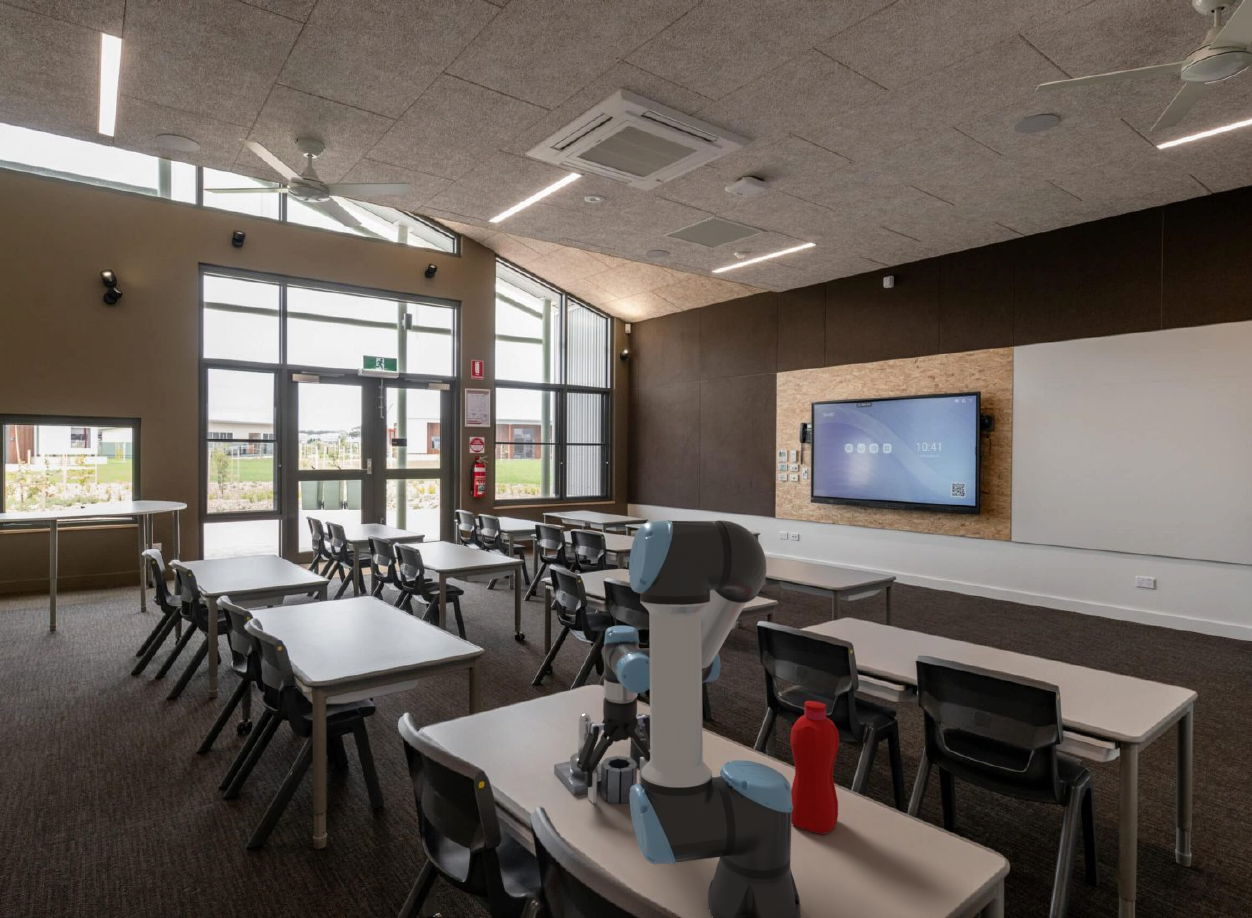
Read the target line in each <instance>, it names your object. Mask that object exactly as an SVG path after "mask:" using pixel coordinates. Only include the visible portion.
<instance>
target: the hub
mask: <svg viewBox="0 0 1252 918" xmlns="http://www.w3.org/2000/svg"><path fill="white" fill-rule="evenodd" d="M600 764H601V790H600V798H602V799H603V800H604V802H607V803H610V804H616V805H624V804H628V803H630V798H629V795H630V788H631V787H632V786H633V785H635V784H636V783H637V782H638V766H637V763H636V762H635V761H634V760H633V759H632V758H630V756H629V757H628V756H621V755H619V756H618V755H615V756H610V757H606V758H604V760H603V761H602V762H600Z"/></svg>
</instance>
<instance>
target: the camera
mask: <svg viewBox="0 0 1252 918" xmlns="http://www.w3.org/2000/svg"><path fill="white" fill-rule="evenodd" d="M640 714H641V713H638V714H637V715H636V717H638V716H640ZM643 714H644V715H646V716H647V717H649V725H650V714H645V713H643ZM634 732H635V733H636V734H637V736H638V737H639V739H640V740H641V741H642V743H643V744H644V745H645V747H646V748H647V749H648V750H650V749H649V747H648V744H647V742H646V739H645V737H644V734H643V732H642V729H641V726H640V725H639V724H637V726H636V727H635V729H634ZM629 750H630V751H629V752H630V753H629V755H630V756H629V758H632V759H633V760H634V761H635V762H636V763H637V767H639V768H640V757H644V756H643V754H642V753H641V752H640V750H639V749H638V748H637V746H636V745H635V744H634V743H633V741H632V740H631V739H630V748H629Z"/></svg>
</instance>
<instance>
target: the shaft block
mask: <svg viewBox="0 0 1252 918" xmlns="http://www.w3.org/2000/svg"><path fill="white" fill-rule="evenodd" d="M590 723H592V718H591V716H590V714H588V713H587V712H586V713H585V712H583V713H582V714H580V716H579V718H578V739H577V740H578V745H577V746H578V748H577V749H578V750H577V752H576V753H573V754H571V756H570V760H569V761H563V762H560V763H555V764H553V768H554V769H553V774H555V776H556V777H557V778H558V780H560V781H561V783H562V784H563V785H564V786H565V787H566V788H567V789H568V790H569V792H570V793H571V794H572V795H573V796H575V797H576V796H579V795H582V794H588V787H587V786H586V785H585V772H582V771H581V770H580V769H579V768H578V767H577V762H578V760H579V757H580V755H581V752H582V750H583V747H584V745H585V742H586V739H587V737H588V734H589V727H590ZM594 771H595V772H596V773H597V789H596V792H597V791H601V762H599V763H598V765H597V767H596V768H595V770H594Z"/></svg>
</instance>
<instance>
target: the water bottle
mask: <svg viewBox="0 0 1252 918" xmlns="http://www.w3.org/2000/svg"><path fill="white" fill-rule="evenodd" d="M839 736H840V735H839V730H838V729H837V727H836V724H835V722H833V720H831V719H830V718H828V717H827V704H825V703H824V702H823V703H822V702H818V701H814V700H813V701H812V700H806V701H805V702H804V714H803V715H801V716H800V717H799V718H798V719H797V720H796V721H795V722H794V724H793V725H792V727H791V732H790V740H789V742H790V747H791V751H792V757H793V761H794V776H793V777H794V778H793V781H792V785H791V796H792V805H793V811H792V821H791V825H793V826H794V827H796V828H798V829H802V830H805V831H809V832H813V833H815V834H818V835H822V834H828V833H830V832H831V831H833V830H834V827H835V826H836V824H837V823H838V817H839V800H838V796H837V791H836V790H837V789H836V787H835V780H834V777H833V776H834V766H835V761H836V758H837V753H838V750H839V746H840V745H839V744H840V737H839Z"/></svg>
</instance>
